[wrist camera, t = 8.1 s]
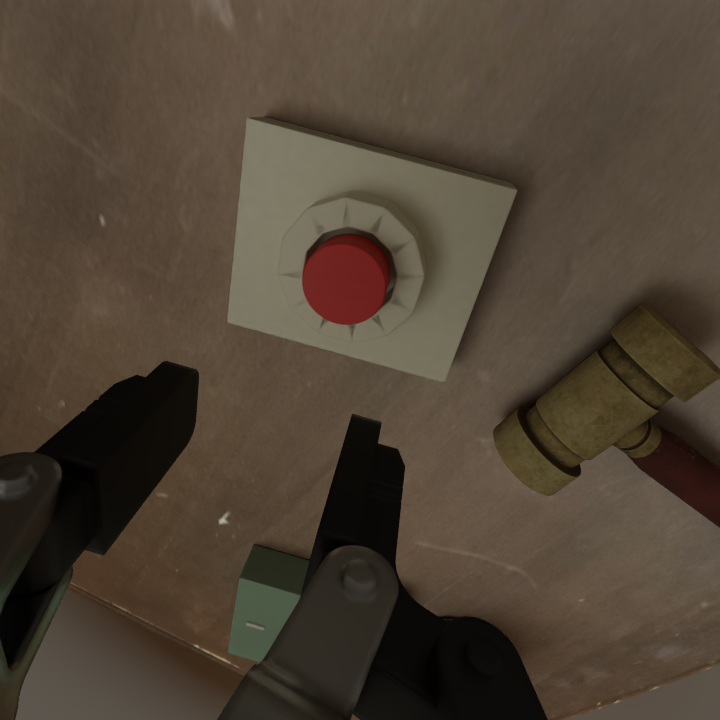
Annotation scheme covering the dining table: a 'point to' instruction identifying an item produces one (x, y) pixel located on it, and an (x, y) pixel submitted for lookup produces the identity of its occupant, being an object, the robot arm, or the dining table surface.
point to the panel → (264, 600)
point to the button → (346, 279)
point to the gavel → (618, 415)
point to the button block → (374, 221)
